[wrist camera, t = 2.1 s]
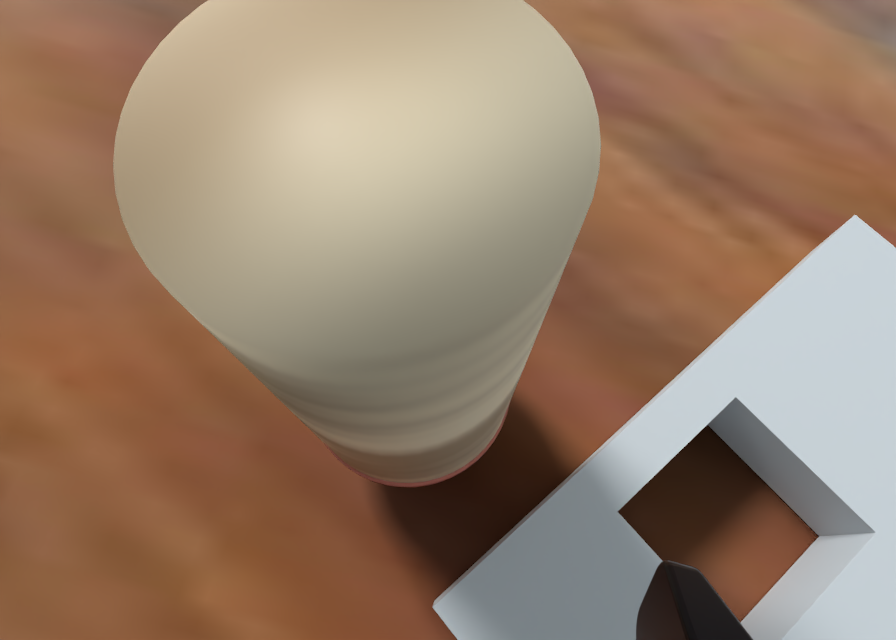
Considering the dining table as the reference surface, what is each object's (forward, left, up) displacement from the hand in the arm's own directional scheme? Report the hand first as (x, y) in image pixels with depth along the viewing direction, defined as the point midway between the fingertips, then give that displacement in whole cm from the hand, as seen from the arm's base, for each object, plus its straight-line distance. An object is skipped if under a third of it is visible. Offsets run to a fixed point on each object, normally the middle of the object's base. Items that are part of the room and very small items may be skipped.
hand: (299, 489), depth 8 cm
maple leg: (+2, -3, -10) cm, 11 cm away
